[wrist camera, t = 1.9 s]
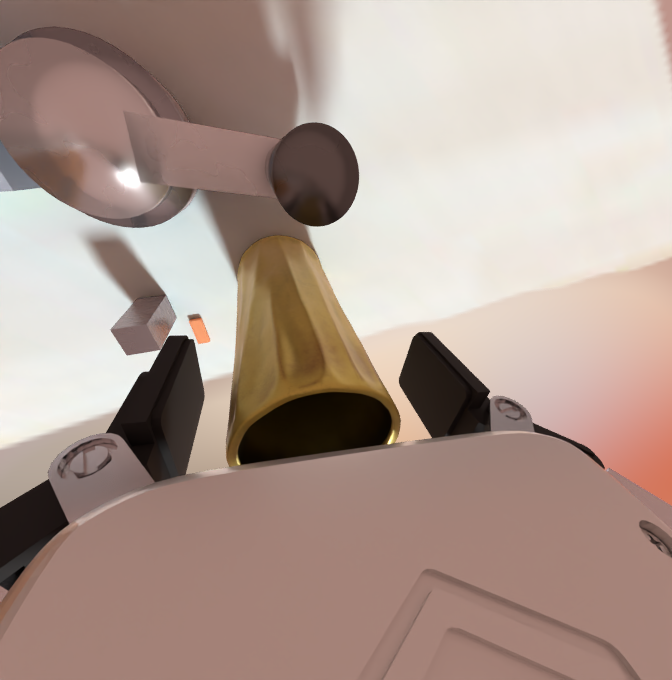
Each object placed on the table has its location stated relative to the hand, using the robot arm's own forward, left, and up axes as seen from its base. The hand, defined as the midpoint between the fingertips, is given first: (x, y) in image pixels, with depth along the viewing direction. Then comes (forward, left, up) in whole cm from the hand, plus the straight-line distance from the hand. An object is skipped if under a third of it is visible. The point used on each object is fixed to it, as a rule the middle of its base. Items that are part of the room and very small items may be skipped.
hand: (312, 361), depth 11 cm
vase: (-1, 0, -10) cm, 10 cm away
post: (-9, -1, -10) cm, 14 cm away
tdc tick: (-7, -3, -10) cm, 13 cm away
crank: (-4, +8, -8) cm, 11 cm away
